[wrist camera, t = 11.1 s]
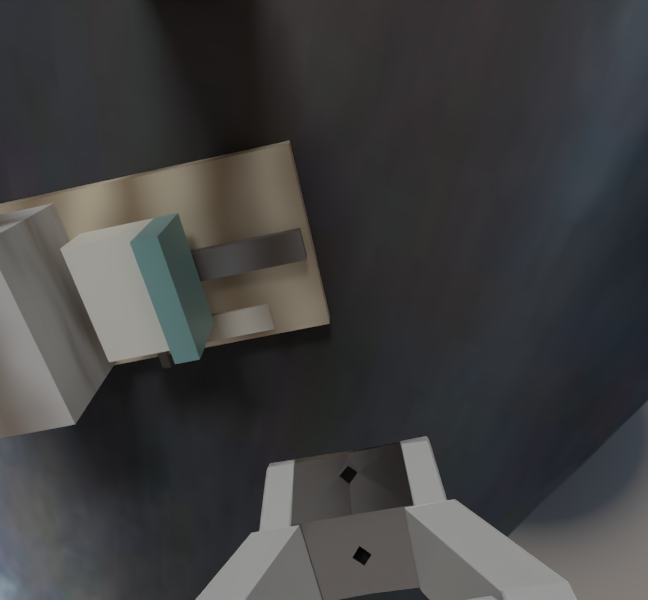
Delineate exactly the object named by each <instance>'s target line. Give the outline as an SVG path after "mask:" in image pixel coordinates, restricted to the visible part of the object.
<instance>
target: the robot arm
mask: <svg viewBox="0 0 648 600" xmlns="http://www.w3.org/2000/svg"><path fill="white" fill-rule="evenodd" d="M419 587H420V589H421V591H422V592H423V593H424V594H425V595H426V596H427V598H428V599H429V600H577V599H576V597H575V595H574V592H573V590H572V588H571V586H570V584H569V582H568V581H566V580H565V579H563V578H562V577H561V576H559V575H558V574H557V573H555V572H554V571H553V570H551V569H550V568H549V567H547V566H546V565H544V564H543V563H542V562H540V561H539V560H537V559H536V558H535V557H534V556H532V555H531V554H529V553H528V552H527V551H525V550H524V549H522V548H521V547H520V546H518V545H517V544H516V543H514V542H513V541H512V540H510V539H509V538H508V537H506V536H505V535H503V534H502V533H501V532H499V531H498V530H497V529H495V528H494V527H493V526H491V525H490V524H488V523H487V522H486V521H484V520H483V519H482V518H480V517H479V516H478V515H476V514H475V513H473V512H472V511H471V510H469V509H468V508H467V507H465V506H464V505H463V504H461V503H460V502H458V501H457V500H456V499H454V500H447V499H446V495H445V492H444V488H443V485H442V482H441V478H440V475H439V472H438V468H437V465H436V461H435V458H434V455H433V451H432V448H431V445H430V441H429V439H428V438H427V437H426V436H424V437H419V438H414V439H409V440H404V441H400V442H398V443H392V444H387V445H381V446H375V447H370V448H364V449H359V450H353V451H346V452H340V453H333V454H326V455H320V456H313V457H306V458H300V459H296V460H289V461H283V462H276V463H270V464H269V466H268V468H267V472H266V480H265V488H264V496H263V504H262V512H261V521H260V529H259V532H254V533H251V534H250V535H249V536H248V537H247V539H246V540H245V541H244V542H243V543H242V545H241V546H240V547H239V548H238V549H237V551H236V552H235V553H234V554H233V555H232V557H231V558H230V559H229V560H228V561H227V563H226V564H225V565H224V566H223V567H222V569H221V570H220V571H219V572H218V573H217V574H216V576H215V577H214V578H213V579H212V580H211V582H210V583H209V584H208V585H207V586H206V588H205V589H204V590H203V591H202V592H201V594H200V595H199V596H198V597H197V598H196V600H338V599H344V598H349V597H354V596H360V595H365V594H371V593H379V592H387V591H395V590H403V589H411V588H419Z"/></svg>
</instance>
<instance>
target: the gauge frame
mask: <svg viewBox="0 0 648 600" xmlns="http://www.w3.org/2000/svg"><path fill="white" fill-rule="evenodd" d="M175 213H178V214H179V217H180V220H181V223H182V226H183V229H184V232H185V235H186V238H187V241H188V245H189V248H190V251H191V254H192V257H193V260H194V263H195V266H196V269H197V272H198V275H199V278H200V281H201V284H202V287H203V290H204V293H205V297H206V300H207V303H208V306H209V309H210V312H211V315H212V318H213V321H214V324H213V327H212V330H211V332H210V335H209V337H208V340H207V343H206V345H205V348H206V347H211V346H216V345H221V344H226V343H232V342H237V341H242V340H247V339H252V338H258V337H263V336H268V335H273V334H278V333H284V332H289V331H294V330H299V329H304V328H309V327H315V326H320V325H325V324H330V317H329V311H328V306H327V302H326V298H325V293H324V289H323V284H322V280H321V276H320V271H319V267H318V262H317V258H316V254H315V249H314V245H313V241H312V236H311V232H310V227H309V223H308V219H307V214H306V210H305V205H304V201H303V197H302V192H301V188H300V184H299V179H298V175H297V170H296V166H295V162H294V157H293V153H292V148H291V144H290V140H289V141H285V142H280V143H276V144H271V145H267V146H262V147H258V148H253V149H248V150H244V151H239V152H235V153H230V154H226V155H221V156H216V157H212V158H207V159H203V160H198V161H194V162H189V163H184V164H180V165H175V166H171V167H166V168H162V169H157V170H152V171H148V172H143V173H139V174H134V175H130V176H125V177H120V178H116V179H111V180H107V181H102V182H98V183H93V184H88V185H84V186H79V187H75V188H70V189H66V190H61V191H56V192H52V193H47V194H43V195H38V196H34V197H29V198H24V199H20V200H15V201H11V202H6V203H2V204H0V438H5V437H10V436H15V435H21V434H26V433H32V432H37V431H42V430H48V429H53V428H59V427H64V426H69V425H75V424H76V422H77V421H78V419H79V418H80V416H81V415H82V413H83V412H84V410H85V409H86V407H87V406H88V404H89V403H90V401H91V399H92V398H93V396H94V395H95V393H96V392H97V390H98V389H99V387H100V386H101V384H102V383H103V381H104V380H105V378H106V377H107V375H108V373H109V372H110V370H111V369H112V367H113V366H114V365H118V364H123V363H128V362H133V361H138V360H143V359H149V358H154V357H158V354H157V353H155V354H150V355H145V356H140V357H135V358H129V359H124V360H119V361H114V362H109V361H108V359H107V357H106V354H105V352H104V350H103V347H102V345H101V343H100V340H99V338H98V336H97V333H96V331H95V329H94V327H93V324H92V322H91V320H90V317H89V315H88V313H87V310H86V308H85V306H84V303H83V301H82V299H81V296H80V294H79V292H78V289H77V287H76V285H75V282H74V280H73V278H72V275H71V273H70V271H69V268H68V266H67V264H66V261H65V259H64V257H63V254H62V252H61V250H60V248H62V247H63V246H64V245H66V244H67V243H68V242H70V241H71V240H72V239H74V238H75V237H76V236H78V235H79V234H81V233H85V232H90V231H95V230H99V229H104V228H109V227H114V226H118V225H123V224H128V223H132V222H137V221H142V220H147V219H151V218H156V217H161V216H165V215H170V214H175ZM168 352H169V354H171V352H170V351H168Z"/></svg>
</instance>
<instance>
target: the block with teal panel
mask: <svg viewBox="0 0 648 600" xmlns="http://www.w3.org/2000/svg"><path fill="white" fill-rule="evenodd" d="M60 250H61V252H62V254H63V257H64V259H65V261H66V264H67V266H68V268H69V271H70V273H71V275H72V278H73V280H74V282H75V285H76V287H77V289H78V292H79V294H80V296H81V299H82V301H83V303H84V306H85V308H86V310H87V313H88V315H89V317H90V320H91V322H92V324H93V327H94V329H95V331H96V333H97V336H98V338H99V340H100V343H101V345H102V347H103V350H104V352H105V354H106V357H107V359H108V361H109V362H114V361H119V360H124V359H129V358H135V357H140V356H145V355H150V354H155V353H157V354H158V357H159V359H160V362H161V365H162V367H163V369H165V368H170V367H172V365H173V362H172V360H171V357H170V354H169V352H168V351H170V352H171V355H172V357H173V360H174V363H175V364H179V363H184V362H189V361H195V360H200V358H201V356H202V353H203V351H204V348H205V345H206V343H207V340H208V337H209V335H210V332H211V330H212V327H213V324H214V321H213V318H212V315H211V312H210V309H209V306H208V303H207V300H206V297H205V293H204V290H203V287H202V284H201V281H200V278H199V275H198V272H197V269H196V266H195V263H194V260H193V257H192V254H191V251H190V248H189V245H188V241H187V238H186V235H185V232H184V229H183V226H182V223H181V220H180V217H179V214H178V213H175V214H170V215H165V216H161V217H156V218H151V219H147V220H142V221H137V222H132V223H128V224H123V225H118V226H114V227H109V228H104V229H99V230H95V231H90V232H85V233H81V234H79V235H78V236H76V237H75V238H74V239H72V240H71V241H70V242H68V243H67V244H66V245H64V246H63V247H62V248H60Z"/></svg>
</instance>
